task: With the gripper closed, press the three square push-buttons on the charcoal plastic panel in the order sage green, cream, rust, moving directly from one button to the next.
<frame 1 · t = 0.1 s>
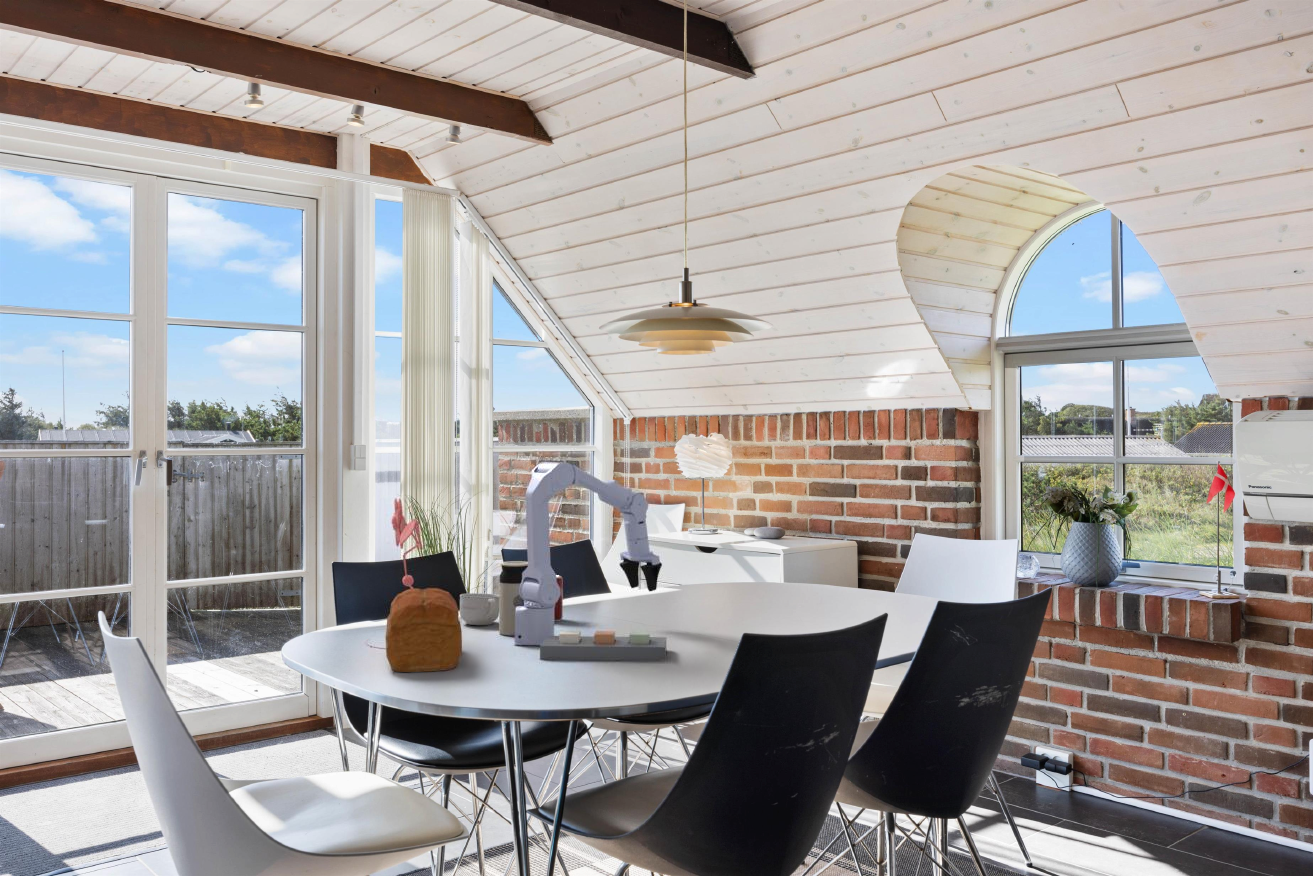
hand: (643, 588, 263), 11 cm above the table, tool pointing down, fingers open, 7 cm apart
sage button: (639, 640, 230), point 3 cm above the table, slide at 0.0 cm
travel mug: (514, 634, 256), on the table
button panel: (604, 654, 230), on the table
soda can: (549, 621, 276), on the table
bread: (422, 660, 224), on the table
rust button: (604, 639, 230), point 3 cm above the table, slide at 0.0 cm
figurine: (396, 642, 245), on the table
teacup: (481, 625, 268), on the table
cream button: (569, 639, 230), point 3 cm above the table, slide at 0.0 cm
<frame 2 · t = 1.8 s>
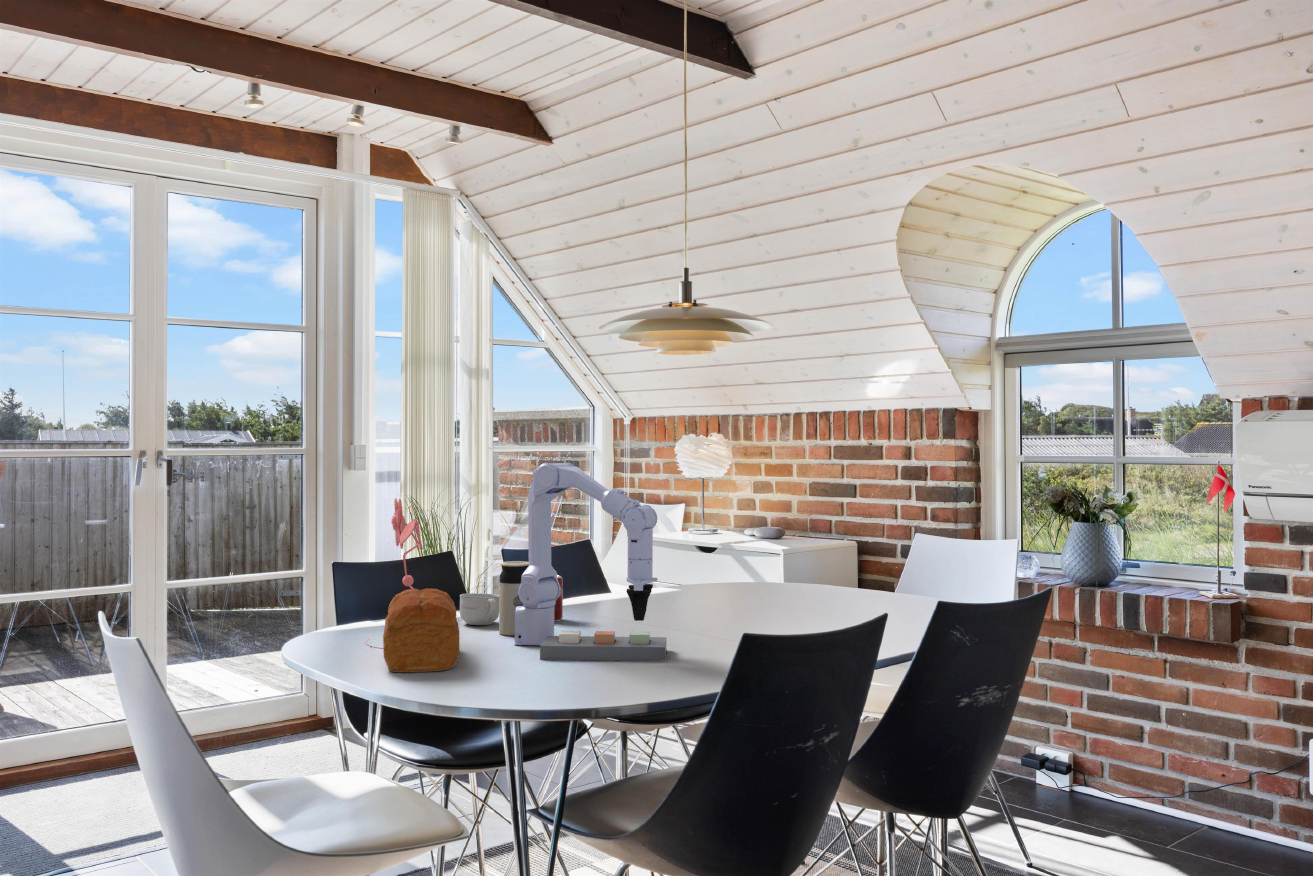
hand: (639, 618, 230), 8 cm above the table, tool pointing down, fingers open, 6 cm apart
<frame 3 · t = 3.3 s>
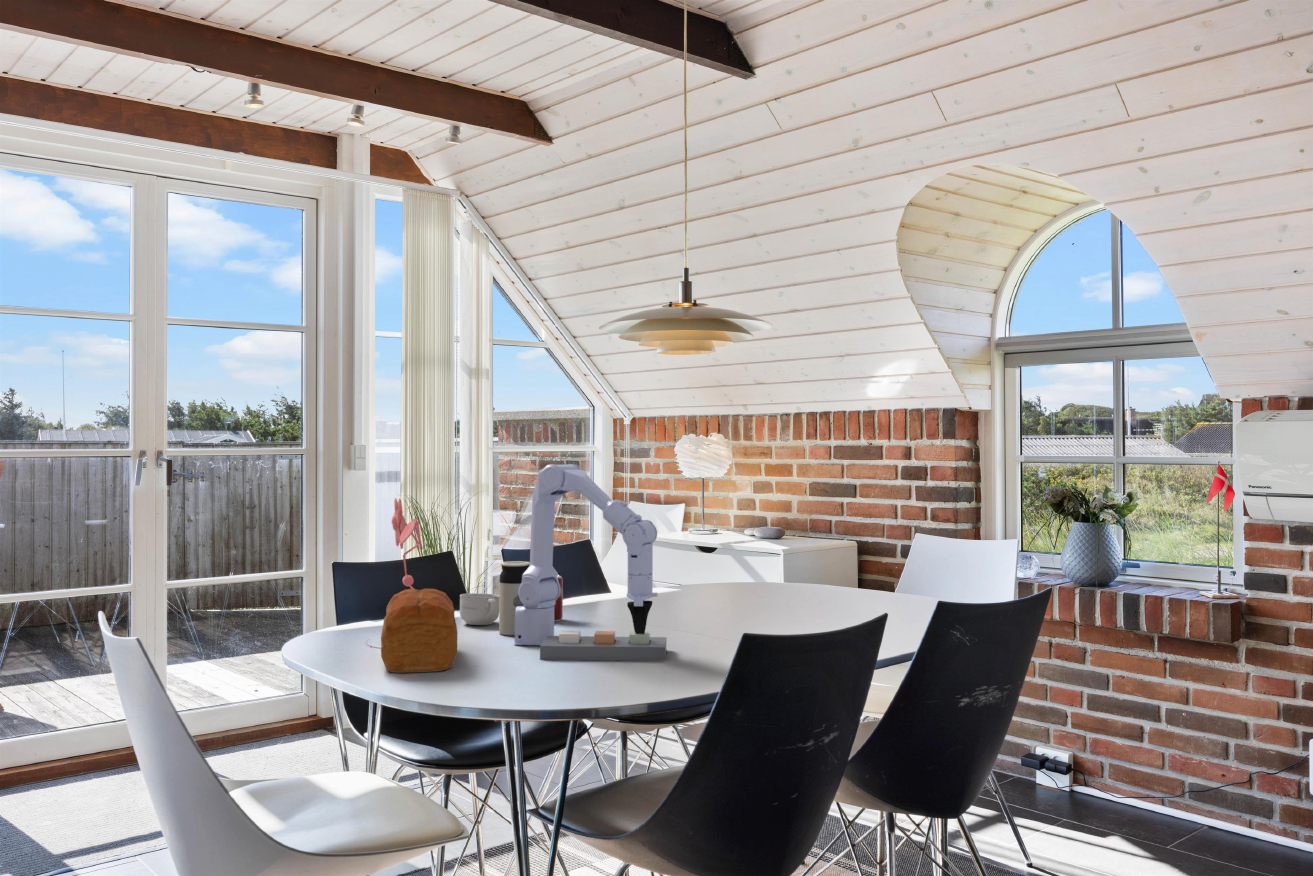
hand: (639, 633, 230), 5 cm above the table, tool pointing down, fingers closed, pressing on sage button
sage button: (639, 640, 230), point 3 cm above the table, slide at 0.0 cm, touching gripper
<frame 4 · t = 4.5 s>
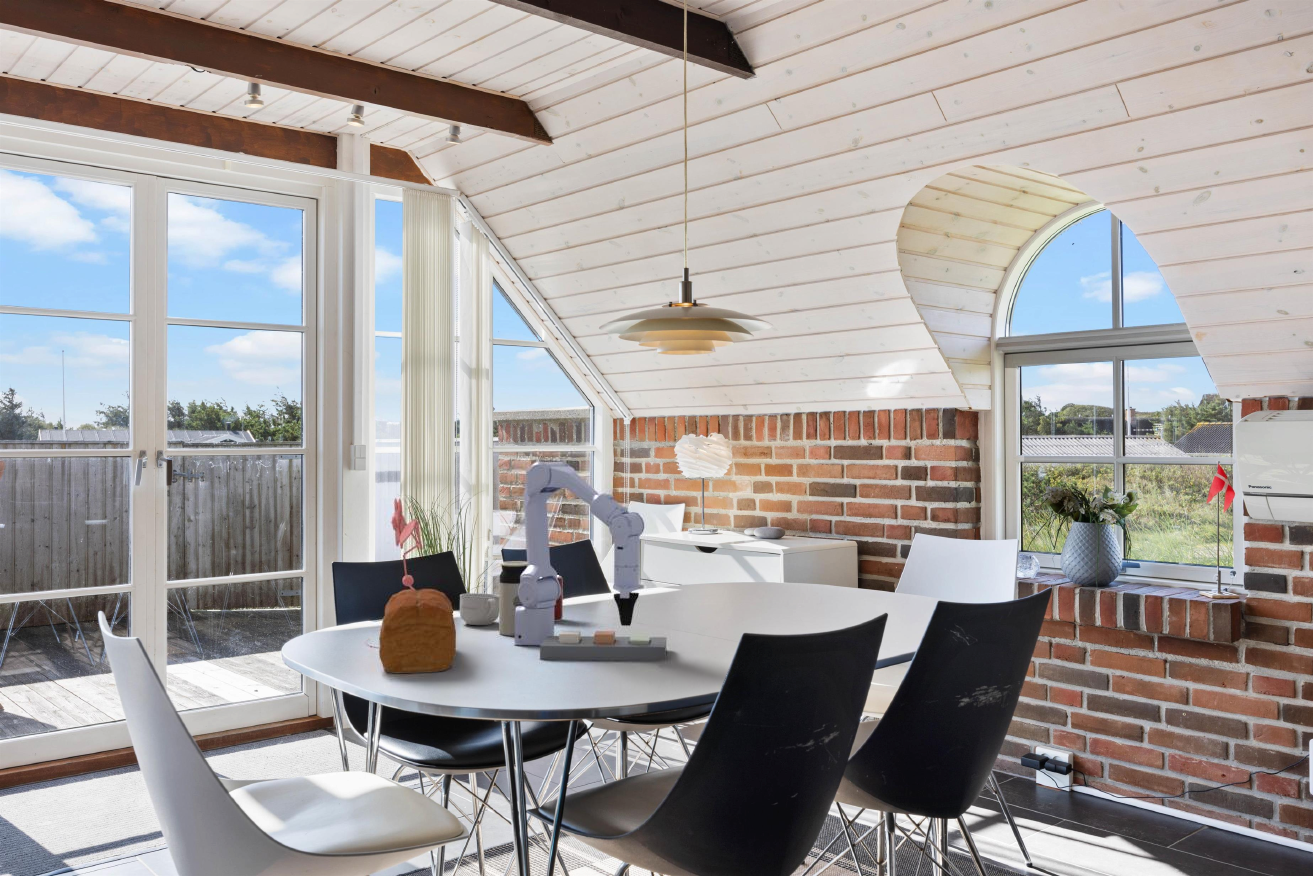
hand: (625, 625, 230), 7 cm above the table, tool pointing down, fingers closed
sage button: (639, 645, 230), point 2 cm above the table, slide at 1.3 cm
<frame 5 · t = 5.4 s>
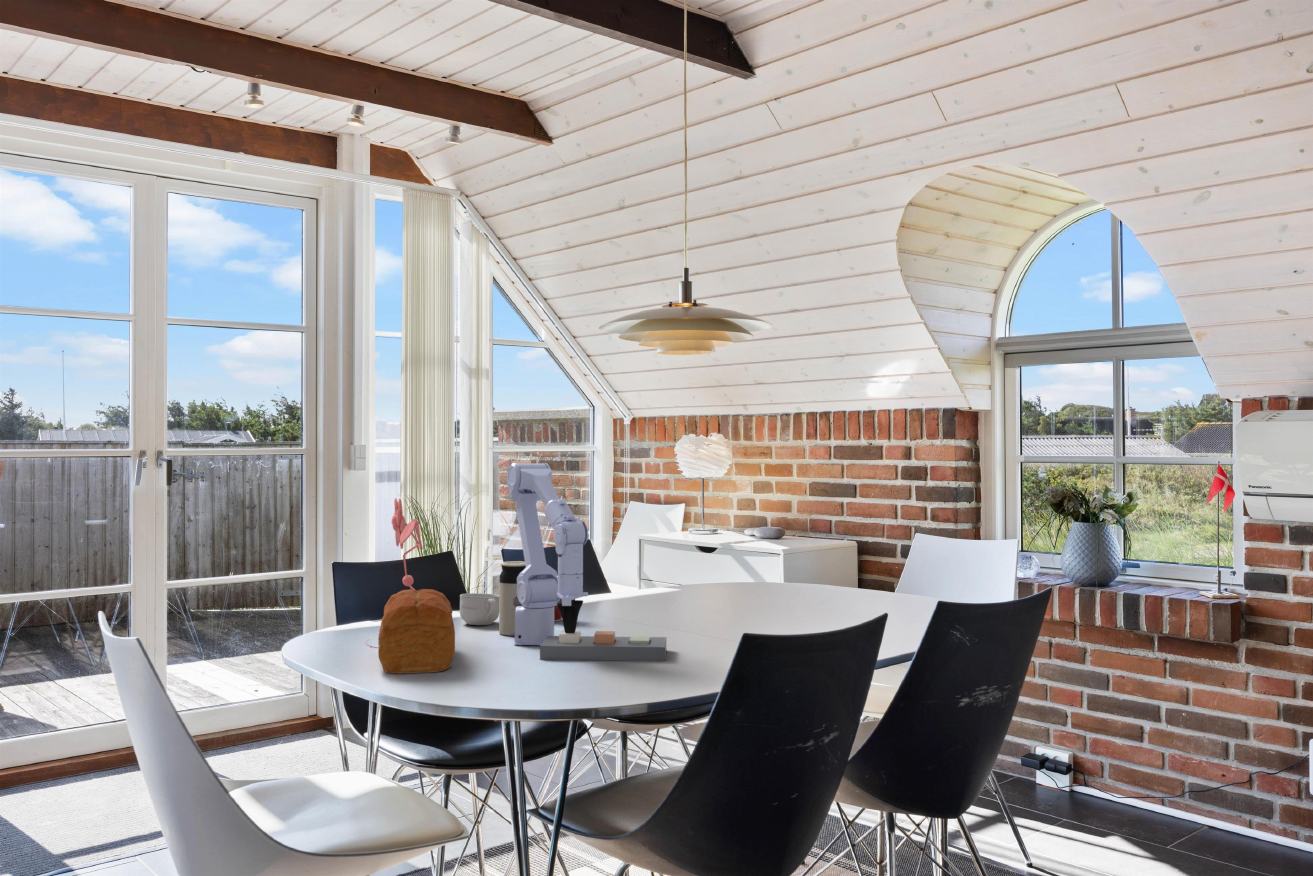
hand: (570, 633, 230), 5 cm above the table, tool pointing down, fingers closed, pressing on cream button
cream button: (569, 639, 230), point 3 cm above the table, slide at 0.1 cm, touching gripper
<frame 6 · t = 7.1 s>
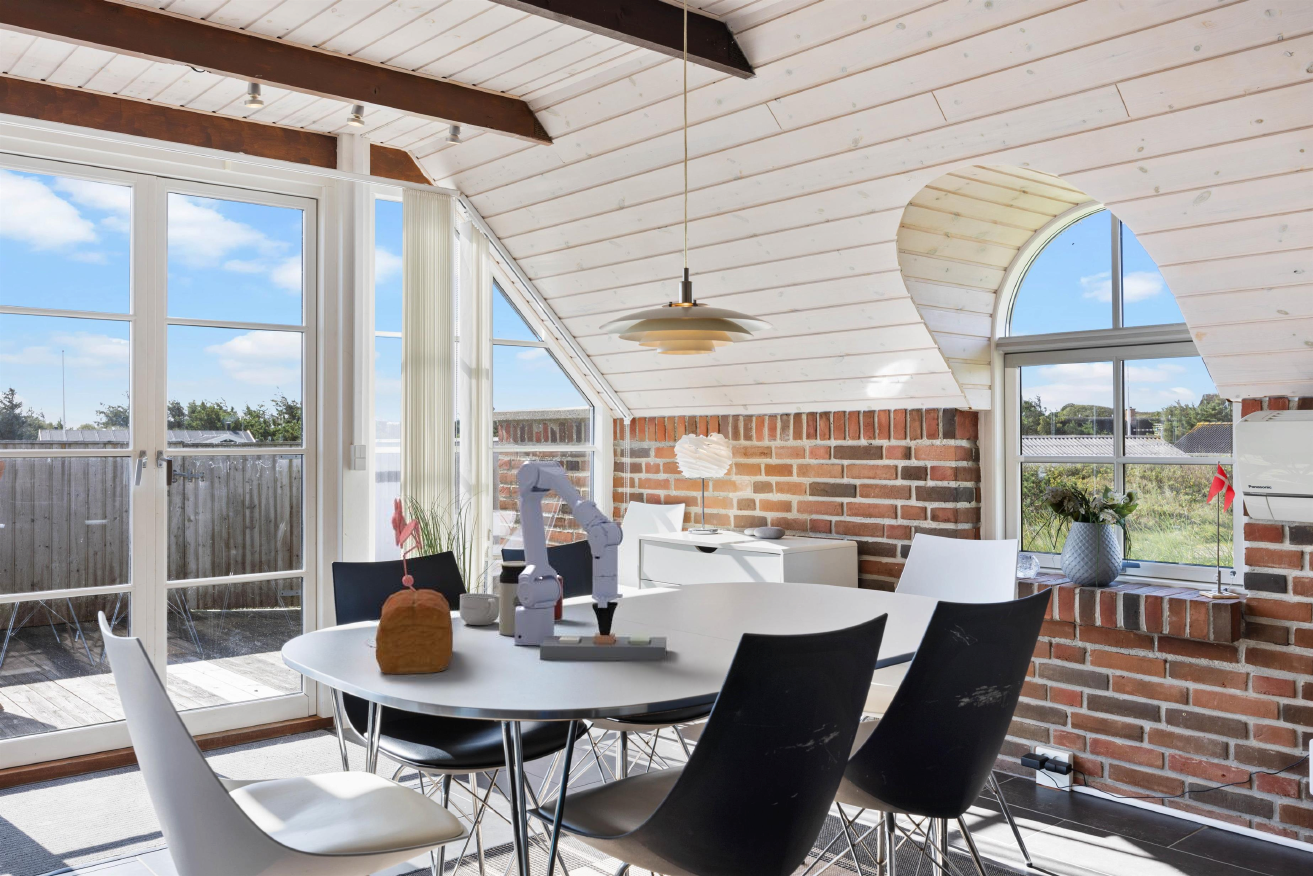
hand: (604, 634, 230), 5 cm above the table, tool pointing down, fingers closed, pressing on rust button
rust button: (604, 641, 230), point 3 cm above the table, slide at 0.4 cm, touching gripper
cream button: (569, 645, 230), point 2 cm above the table, slide at 1.3 cm
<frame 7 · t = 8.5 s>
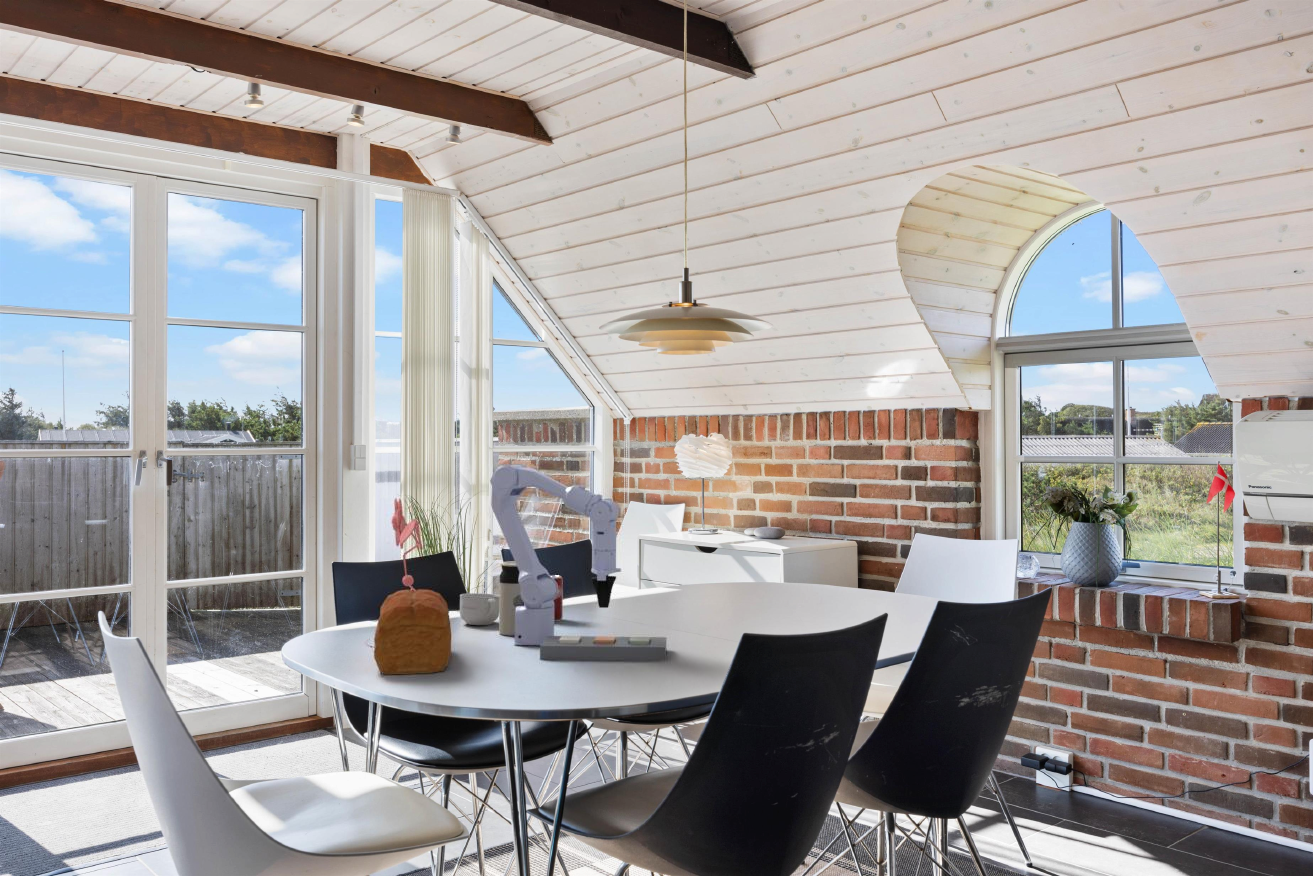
hand: (603, 607, 239), 9 cm above the table, tool pointing down, fingers closed
rust button: (604, 645, 230), point 2 cm above the table, slide at 1.3 cm
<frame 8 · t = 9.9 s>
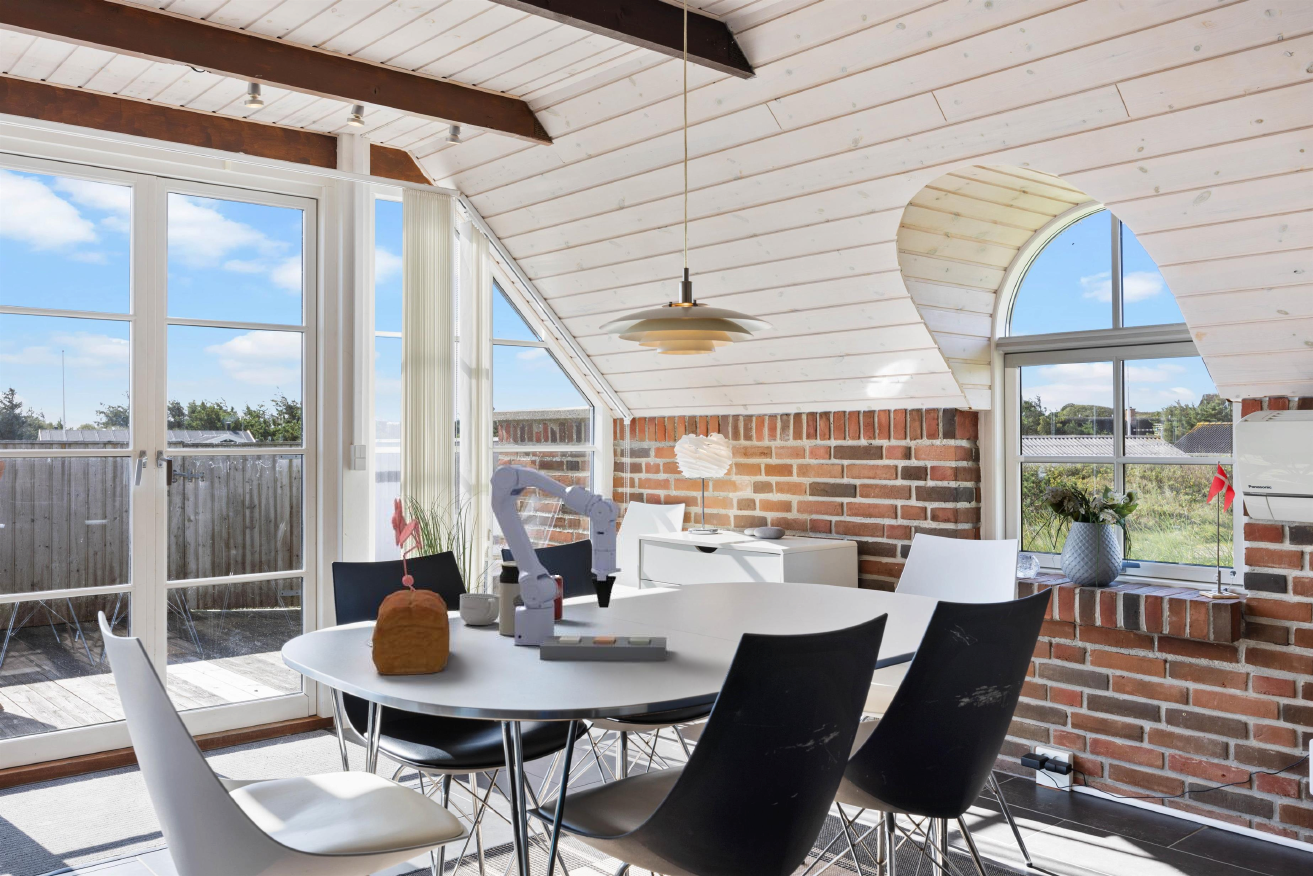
hand: (603, 607, 239), 9 cm above the table, tool pointing down, fingers closed
at the end: sage button slide at 1.3 cm; cream button slide at 1.3 cm; rust button slide at 1.3 cm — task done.
